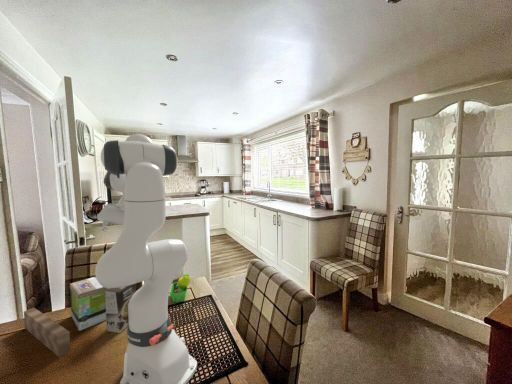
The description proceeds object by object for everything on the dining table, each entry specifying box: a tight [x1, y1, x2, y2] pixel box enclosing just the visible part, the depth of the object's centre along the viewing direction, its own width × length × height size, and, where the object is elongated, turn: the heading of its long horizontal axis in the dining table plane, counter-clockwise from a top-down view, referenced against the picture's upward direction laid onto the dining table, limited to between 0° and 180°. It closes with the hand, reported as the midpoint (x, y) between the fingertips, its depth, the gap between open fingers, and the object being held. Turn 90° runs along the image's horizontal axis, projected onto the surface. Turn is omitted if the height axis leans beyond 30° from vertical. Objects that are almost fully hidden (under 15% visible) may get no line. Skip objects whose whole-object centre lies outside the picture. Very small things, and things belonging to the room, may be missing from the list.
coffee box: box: [105, 283, 137, 334], centre depth 88 cm, size 9×6×16 cm
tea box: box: [69, 276, 108, 331], centre depth 92 cm, size 15×10×15 cm
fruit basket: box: [169, 273, 191, 303], centre depth 108 cm, size 11×9×11 cm
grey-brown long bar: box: [23, 307, 71, 358], centre depth 80 cm, size 30×3×7 cm, turn 62°
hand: (113, 233), depth 100 cm, fingers open, 8 cm apart
